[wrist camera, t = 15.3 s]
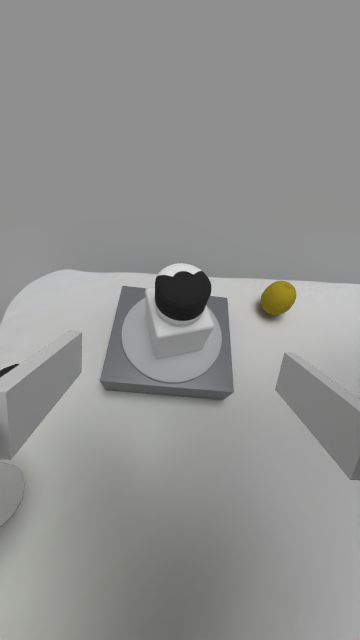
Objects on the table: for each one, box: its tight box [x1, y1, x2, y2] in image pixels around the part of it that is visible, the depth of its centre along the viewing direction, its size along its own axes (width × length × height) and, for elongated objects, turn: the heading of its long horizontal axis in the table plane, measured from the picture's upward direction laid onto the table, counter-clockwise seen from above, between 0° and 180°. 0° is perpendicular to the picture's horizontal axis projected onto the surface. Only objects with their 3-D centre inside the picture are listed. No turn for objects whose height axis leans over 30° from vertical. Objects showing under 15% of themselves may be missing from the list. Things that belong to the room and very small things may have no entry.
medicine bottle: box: [145, 264, 214, 359], centre depth 28 cm, size 7×7×12 cm
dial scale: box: [100, 286, 234, 399], centre depth 36 cm, size 18×17×6 cm
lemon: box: [261, 281, 296, 315], centre depth 41 cm, size 6×6×8 cm
